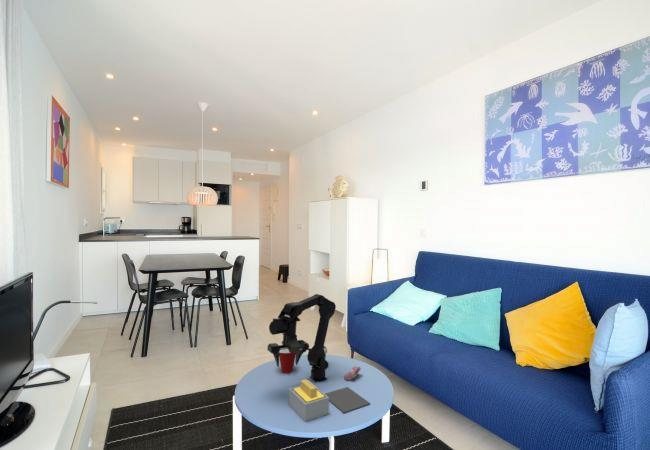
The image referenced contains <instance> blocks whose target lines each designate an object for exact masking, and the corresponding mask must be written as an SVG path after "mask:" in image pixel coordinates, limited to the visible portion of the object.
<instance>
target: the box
mask: <svg viewBox="0 0 650 450" xmlns="http://www.w3.org/2000/svg"><path fill="white" fill-rule="evenodd" d="M313 385H314V384H313ZM314 386H315V387H316V388H317V390H318V391H319V392H320V393H321V394H322V395H324V396H325V398H322V399H318V400H315V401H312V402H308V403H306V402H305V401H304V400H302V399H301V398H300V397H299V396H298V395H297V394H296V393H295V392H294V391H293V389H294V388H297V387H301V385H298V386H294V387H289V388H288V405H289V407H291V408H292V410H293V411H295V412H296V414H297V415H298V416H299V417H300V418H301V419H302V420H303V421H304V422H305V423H306V422H309V421H311V420H314V419H318V418H321V417H323V416H326V415H330V414H329V413H330V412H329V409H330V401H329V397H328V396H327V395H325V393H324V392H323V391H322V390H320V388H318V387H317V386H316V385H314Z"/></svg>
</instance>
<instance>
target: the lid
mask: <svg viewBox="0 0 650 450" xmlns="http://www.w3.org/2000/svg"><path fill="white" fill-rule="evenodd" d="M300 386H301V387H297V386H296V387H297V388H294V389H293V391H294V392H295V393H296V394H297V395H298V396H299V397H300V398H301V399H302V400H304V401H305V402H306V403H308V402H312V401H315V400H318V399H322V398H325V396H324V395H322V394H321V393H320V392H319V391H318V390H317V388H318V387H317V386H316V385H315V386H316V387H317V388H316V387H315V386H314V384H313V383H312V382H311V381H310V380H308V379H303V380H300Z"/></svg>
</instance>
